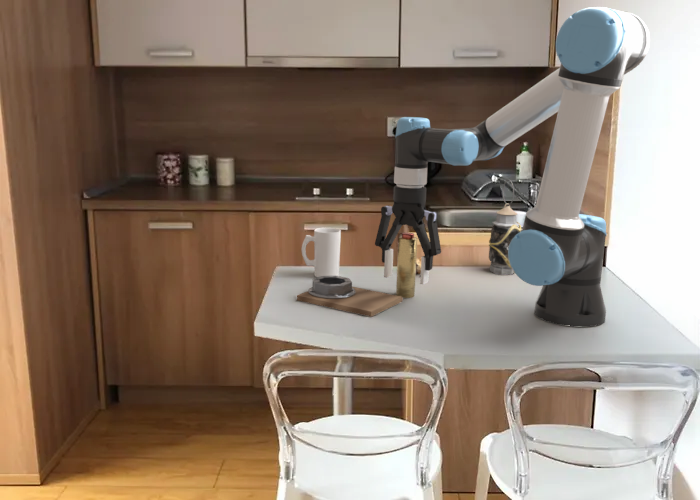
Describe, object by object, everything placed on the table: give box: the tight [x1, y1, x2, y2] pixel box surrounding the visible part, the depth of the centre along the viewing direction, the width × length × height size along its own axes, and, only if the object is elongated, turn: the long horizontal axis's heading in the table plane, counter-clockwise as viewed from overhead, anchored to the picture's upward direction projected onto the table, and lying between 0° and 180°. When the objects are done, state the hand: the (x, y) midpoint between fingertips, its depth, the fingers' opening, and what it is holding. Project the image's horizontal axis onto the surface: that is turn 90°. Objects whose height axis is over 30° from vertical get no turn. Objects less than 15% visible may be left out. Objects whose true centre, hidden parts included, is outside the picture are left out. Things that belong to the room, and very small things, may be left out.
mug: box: [301, 227, 342, 278], centre depth 197 cm, size 10×7×12 cm, turn 104°
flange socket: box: [307, 275, 356, 299], centre depth 180 cm, size 11×11×3 cm
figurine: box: [416, 257, 421, 278], centre depth 202 cm, size 14×5×4 cm, turn 19°
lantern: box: [488, 179, 522, 276], centre depth 205 cm, size 9×8×25 cm
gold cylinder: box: [395, 232, 418, 299], centre depth 182 cm, size 4×4×15 cm
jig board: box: [296, 286, 404, 317], centre depth 178 cm, size 20×14×1 cm
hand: (406, 279), depth 182 cm, fingers open, 9 cm apart
